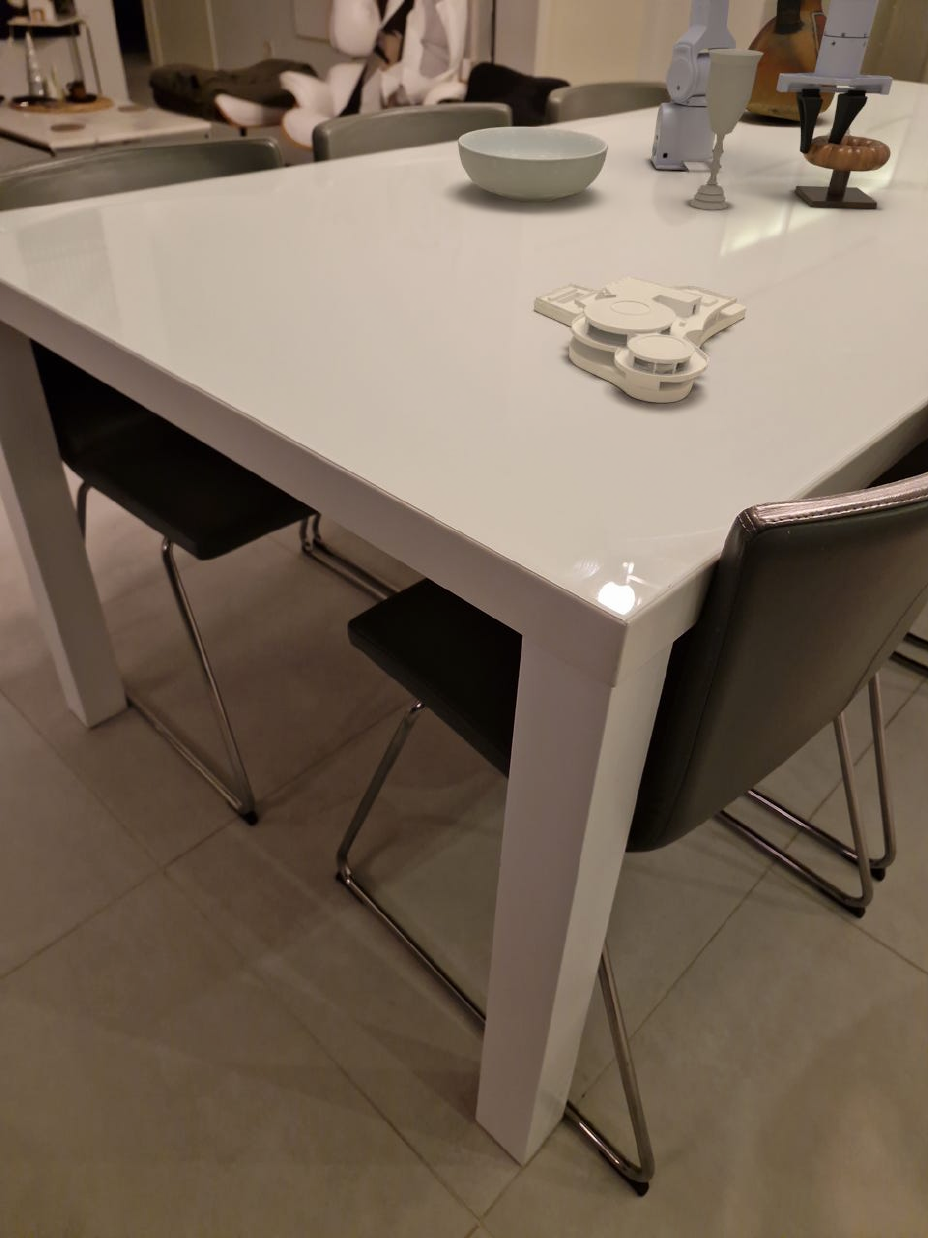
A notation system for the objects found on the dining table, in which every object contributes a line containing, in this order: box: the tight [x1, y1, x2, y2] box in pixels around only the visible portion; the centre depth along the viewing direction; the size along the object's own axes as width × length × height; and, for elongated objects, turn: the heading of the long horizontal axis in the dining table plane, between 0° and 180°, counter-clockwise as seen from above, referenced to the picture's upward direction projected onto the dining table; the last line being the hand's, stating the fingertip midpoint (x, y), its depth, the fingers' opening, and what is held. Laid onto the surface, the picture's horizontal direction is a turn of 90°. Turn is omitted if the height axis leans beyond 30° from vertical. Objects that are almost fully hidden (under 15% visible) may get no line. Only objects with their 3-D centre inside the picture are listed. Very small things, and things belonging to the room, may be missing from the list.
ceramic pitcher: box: [745, 0, 838, 122], centre depth 166 cm, size 20×20×30 cm
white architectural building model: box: [533, 276, 748, 404], centre depth 80 cm, size 23×25×4 cm
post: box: [794, 169, 878, 210], centre depth 122 cm, size 9×9×5 cm
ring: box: [803, 134, 892, 173], centre depth 120 cm, size 11×11×3 cm
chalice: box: [689, 48, 763, 211], centre depth 115 cm, size 7×7×18 cm
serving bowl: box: [457, 126, 609, 203], centre depth 121 cm, size 21×21×7 cm
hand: (817, 152), depth 120 cm, fingers closed on ring, 3 cm apart
